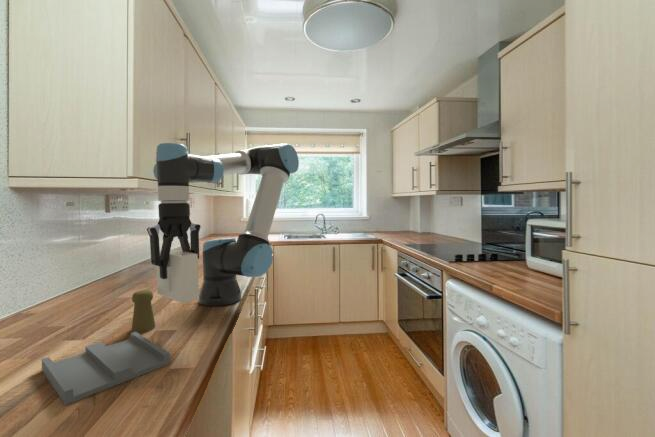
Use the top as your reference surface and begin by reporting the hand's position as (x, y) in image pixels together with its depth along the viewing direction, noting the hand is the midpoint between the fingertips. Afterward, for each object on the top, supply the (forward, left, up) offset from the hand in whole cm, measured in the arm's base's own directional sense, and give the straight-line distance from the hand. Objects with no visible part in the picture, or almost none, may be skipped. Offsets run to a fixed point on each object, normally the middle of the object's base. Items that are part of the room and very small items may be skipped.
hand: (177, 287), depth 84 cm
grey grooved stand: (+18, +4, -13) cm, 23 cm away
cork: (+4, -13, -13) cm, 19 cm away
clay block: (0, 0, -2) cm, 2 cm away
